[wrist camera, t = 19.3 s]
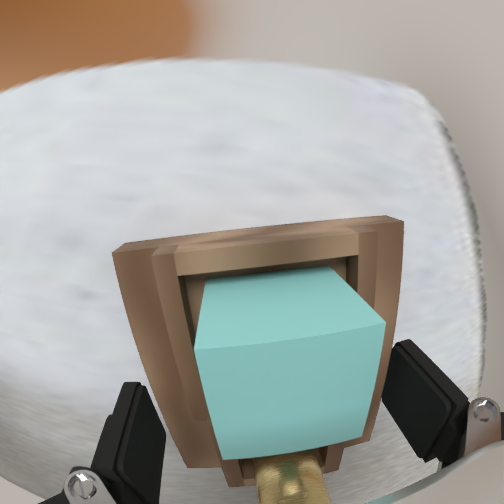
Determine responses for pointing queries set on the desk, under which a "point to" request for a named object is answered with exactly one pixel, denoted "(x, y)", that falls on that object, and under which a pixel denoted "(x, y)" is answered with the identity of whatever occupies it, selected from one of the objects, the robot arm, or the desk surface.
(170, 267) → the organizer
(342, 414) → the block
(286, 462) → the peg
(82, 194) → the desk surface
